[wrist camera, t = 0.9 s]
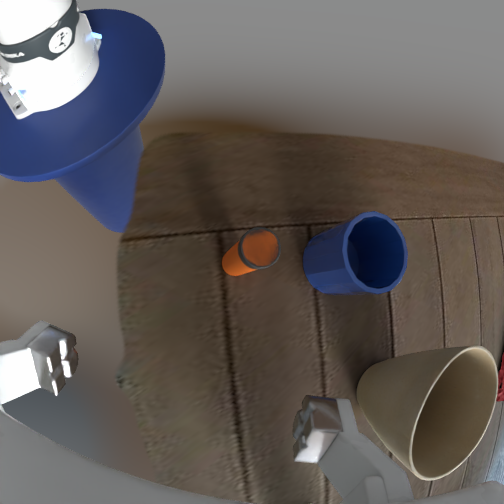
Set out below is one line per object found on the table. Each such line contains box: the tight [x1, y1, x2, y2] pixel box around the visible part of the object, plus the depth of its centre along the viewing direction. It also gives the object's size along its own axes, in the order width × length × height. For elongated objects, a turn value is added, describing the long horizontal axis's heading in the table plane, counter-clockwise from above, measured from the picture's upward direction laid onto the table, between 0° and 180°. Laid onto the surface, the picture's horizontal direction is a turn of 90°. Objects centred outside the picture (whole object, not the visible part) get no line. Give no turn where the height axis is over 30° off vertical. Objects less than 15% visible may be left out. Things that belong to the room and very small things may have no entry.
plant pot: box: [357, 346, 498, 480], centre depth 30 cm, size 15×15×16 cm
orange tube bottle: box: [222, 227, 281, 276], centre depth 30 cm, size 3×3×12 cm
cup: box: [303, 211, 408, 295], centre depth 33 cm, size 8×8×10 cm
